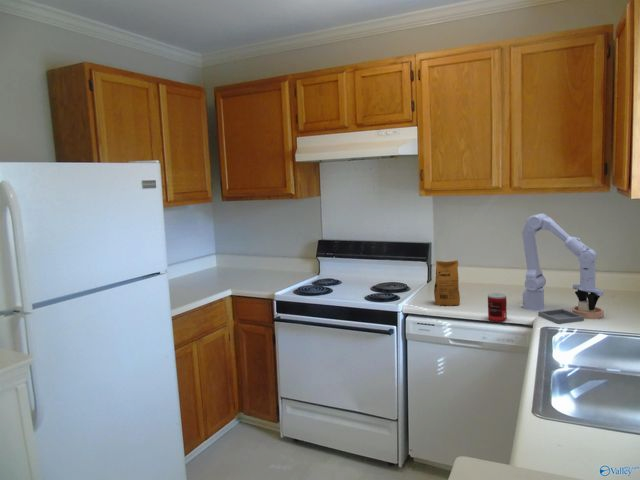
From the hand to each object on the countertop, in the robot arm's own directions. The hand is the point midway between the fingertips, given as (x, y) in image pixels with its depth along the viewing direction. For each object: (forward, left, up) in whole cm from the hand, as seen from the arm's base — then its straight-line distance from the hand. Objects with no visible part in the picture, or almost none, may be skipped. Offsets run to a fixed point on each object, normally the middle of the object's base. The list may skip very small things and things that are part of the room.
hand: (587, 308), depth 207 cm
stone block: (0, 0, -2) cm, 2 cm away
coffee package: (-43, -44, -4) cm, 62 cm away
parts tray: (0, -13, -3) cm, 13 cm away
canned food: (-10, -36, -4) cm, 38 cm away
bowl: (0, 0, -3) cm, 3 cm away
